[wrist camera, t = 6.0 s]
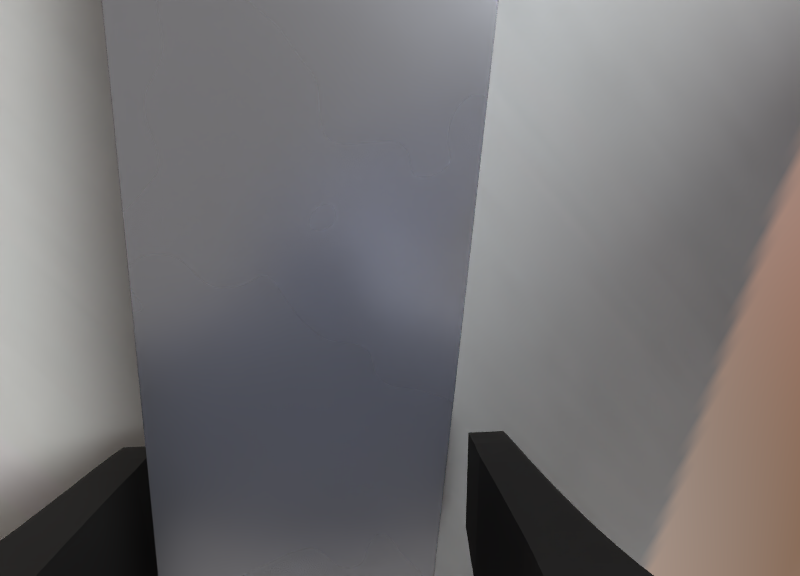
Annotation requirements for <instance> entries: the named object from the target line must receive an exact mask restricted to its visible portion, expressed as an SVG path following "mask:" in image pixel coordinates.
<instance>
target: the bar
mask: <svg viewBox="0 0 800 576" xmlns="http://www.w3.org/2000/svg"><path fill="white" fill-rule="evenodd" d="M102 7H103V17H104V27H105V37H106V48H107V58H108V68H109V78H110V88H111V99H112V109H113V119H114V129H115V139H116V150H117V160H118V170H119V180H120V190H121V201H122V211H123V221H124V231H125V242H126V252H127V262H128V272H129V282H130V293H131V303H132V313H133V323H134V333H135V344H136V354H137V364H138V374H139V384H140V395H141V405H142V415H143V425H144V435H145V446H146V456H147V466H148V476H149V487H150V497H151V507H152V517H153V527H154V538H155V548H156V558H157V568H158V576H434V569H435V560H436V551H437V543H438V534H439V525H440V516H441V507H442V498H443V489H444V480H445V471H446V462H447V454H448V445H449V436H450V427H451V418H452V409H453V400H454V391H455V382H456V374H457V365H458V356H459V347H460V338H461V329H462V320H463V311H464V302H465V293H466V285H467V276H468V267H469V258H470V249H471V240H472V231H473V222H474V213H475V205H476V196H477V187H478V178H479V169H480V160H481V151H482V142H483V133H484V125H485V116H486V107H487V98H488V89H489V80H490V71H491V62H492V53H493V44H494V36H495V27H496V18H497V9H498V0H102Z"/></svg>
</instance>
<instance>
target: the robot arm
mask: <svg viewBox="0 0 800 576" xmlns="http://www.w3.org/2000/svg"><path fill="white" fill-rule="evenodd" d="M466 530H467V536H468V543H469V549H470V556H471V562H472V568H473V574H474V576H654V575H652V574H651V573H650V572H648V571H647V570H646V569H644V568H643V567H642V566H640V565H639V564H638V563H637V562H636V561H634V560H633V559H632V558H631V557H629V556H628V555H627V554H626V553H625V552H623V551H622V550H621V549H620V548H619V547H618V546H616V545H615V544H614V543H613V542H612V541H611V540H610V539H609V538H607V537H606V536H605V535H604V534H603V533H602V532H601V531H600V530H598V529H597V528H596V527H595V526H594V525H593V524H592V523H591V522H590V521H589V520H588V519H587V518H586V517H585V516H584V515H582V514H581V513H580V512H579V511H578V510H577V509H576V508H575V507H574V506H573V505H572V504H571V503H570V502H569V501H568V500H567V499H566V498H565V497H564V496H563V495H562V494H561V493H560V492H559V491H558V490H557V489H556V488H555V487H554V486H553V484H552V483H551V482H550V481H549V480H548V479H547V478H546V477H545V476H544V475H543V474H542V473H541V472H540V471H539V470H538V469H537V467H536V466H535V465H534V464H533V463H532V462H531V461H530V460H529V459H528V458H527V456H526V455H525V454H524V453H523V452H522V451H521V450H520V449H519V448H518V446H517V445H516V444H515V443H514V442H513V441H512V440H511V439H510V437H509V436H508V435H507V434H506V433H504V432H503V431H497V432H474V433H469V437H468V472H467V506H466ZM0 576H158V568H157V558H156V548H155V538H154V527H153V517H152V507H151V497H150V487H149V476H148V466H147V456H146V447H126V448H122V449H121V450H119V451H118V452H117V453H115V454H114V455H112V456H111V457H110V458H108V459H107V460H106V461H104V462H103V463H102V464H100V465H99V466H98V467H96V468H95V469H94V470H92V471H91V472H90V473H89V474H87V475H86V476H85V477H83V478H82V479H81V480H80V481H78V482H77V483H76V484H74V485H73V486H72V487H71V488H69V489H68V490H67V491H66V492H64V493H63V494H62V495H60V496H59V497H58V498H56V499H55V500H54V501H53V502H51V503H50V504H49V505H47V506H46V507H45V508H43V509H42V510H41V511H40V512H38V513H37V514H36V515H34V516H33V517H32V518H30V519H29V520H28V521H27V522H25V523H24V524H23V525H21V526H20V527H19V528H17V529H16V530H15V531H13V532H12V533H10V534H9V535H8V536H6V537H5V538H4V539H2V540H1V541H0Z"/></svg>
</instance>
